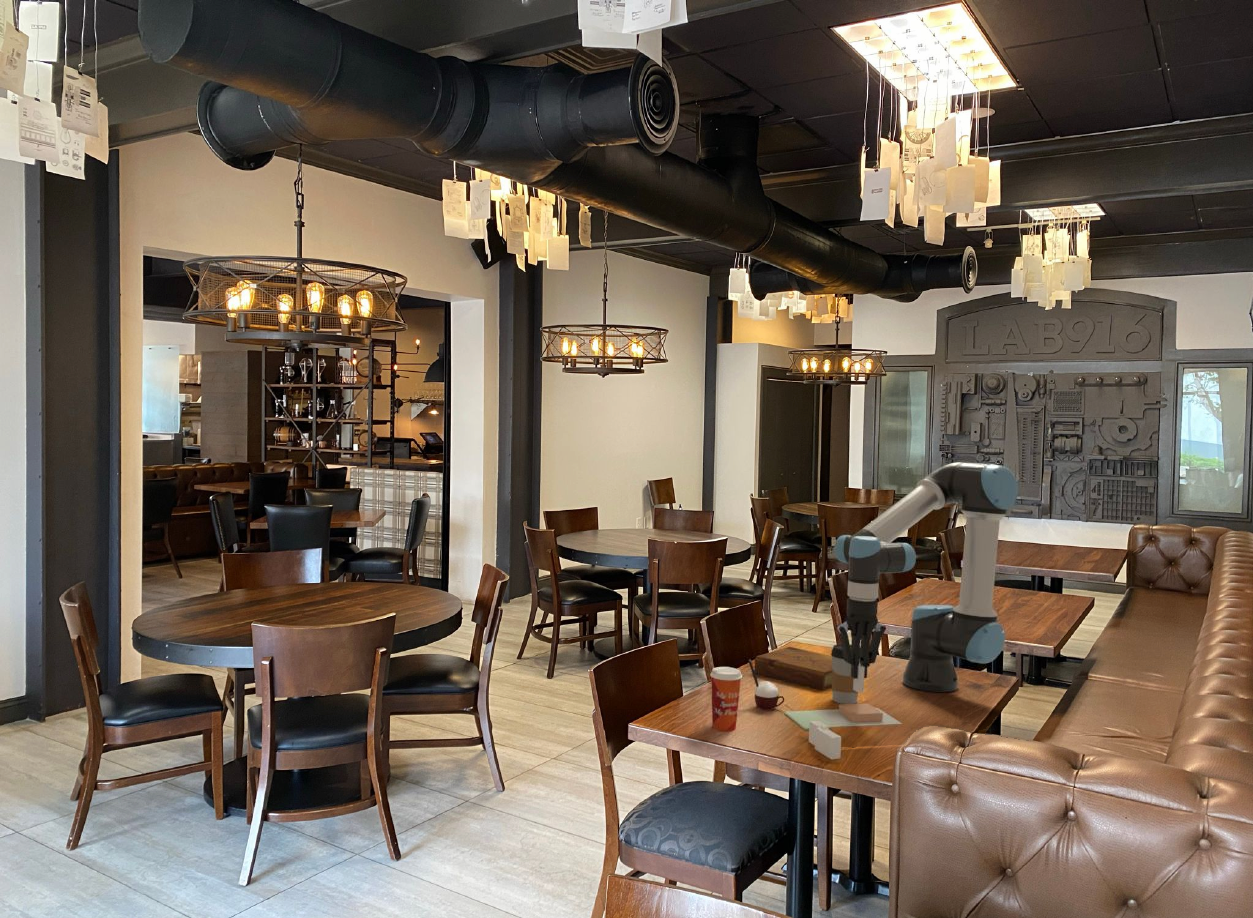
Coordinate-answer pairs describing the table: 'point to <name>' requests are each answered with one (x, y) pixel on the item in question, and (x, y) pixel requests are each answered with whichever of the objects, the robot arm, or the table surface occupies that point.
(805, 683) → the diary
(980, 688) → the table surface
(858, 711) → the tile
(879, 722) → the mat
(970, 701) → the table surface
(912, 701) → the table surface
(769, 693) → the cocoa
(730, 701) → the paper cup
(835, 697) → the coffee cup
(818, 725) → the white stepped block
